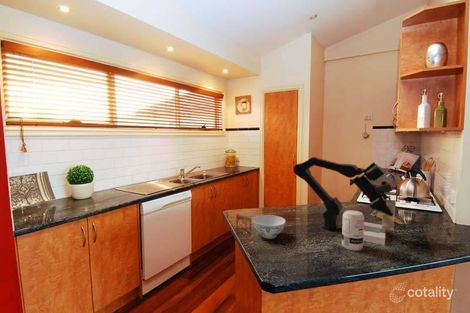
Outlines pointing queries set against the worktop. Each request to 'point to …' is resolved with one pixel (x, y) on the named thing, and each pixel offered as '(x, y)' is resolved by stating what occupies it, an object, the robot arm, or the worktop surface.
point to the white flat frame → (374, 233)
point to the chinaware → (269, 225)
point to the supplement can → (353, 230)
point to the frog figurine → (382, 214)
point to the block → (389, 220)
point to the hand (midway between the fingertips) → (392, 214)
